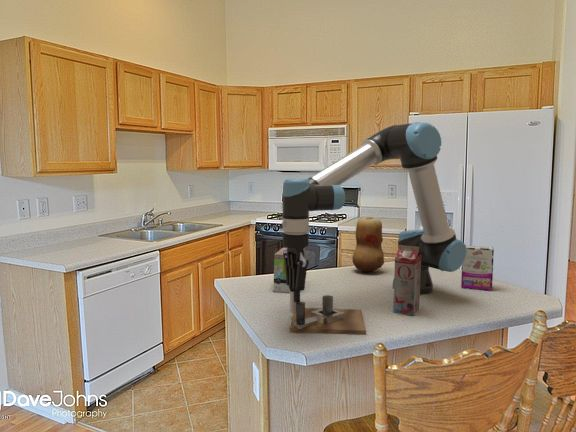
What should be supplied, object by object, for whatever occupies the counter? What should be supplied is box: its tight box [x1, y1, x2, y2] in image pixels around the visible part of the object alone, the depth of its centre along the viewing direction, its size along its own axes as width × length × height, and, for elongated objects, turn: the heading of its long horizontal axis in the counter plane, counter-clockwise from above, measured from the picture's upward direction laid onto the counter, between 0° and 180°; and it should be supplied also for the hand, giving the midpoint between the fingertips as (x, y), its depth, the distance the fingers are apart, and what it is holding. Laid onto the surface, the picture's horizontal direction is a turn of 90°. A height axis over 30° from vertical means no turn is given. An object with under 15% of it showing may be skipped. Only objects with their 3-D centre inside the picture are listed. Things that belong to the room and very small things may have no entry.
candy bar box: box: [460, 245, 495, 292], centre depth 169 cm, size 11×5×16 cm, turn 68°
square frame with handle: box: [293, 301, 344, 329], centre depth 130 cm, size 16×7×7 cm, turn 129°
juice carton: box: [392, 245, 421, 317], centre depth 142 cm, size 7×7×22 cm
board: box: [288, 294, 367, 335], centre depth 133 cm, size 22×18×8 cm
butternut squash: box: [352, 216, 385, 273], centre depth 194 cm, size 14×13×25 cm
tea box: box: [273, 247, 306, 293], centre depth 171 cm, size 15×10×15 cm, turn 168°
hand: (295, 311), depth 128 cm, fingers closed
